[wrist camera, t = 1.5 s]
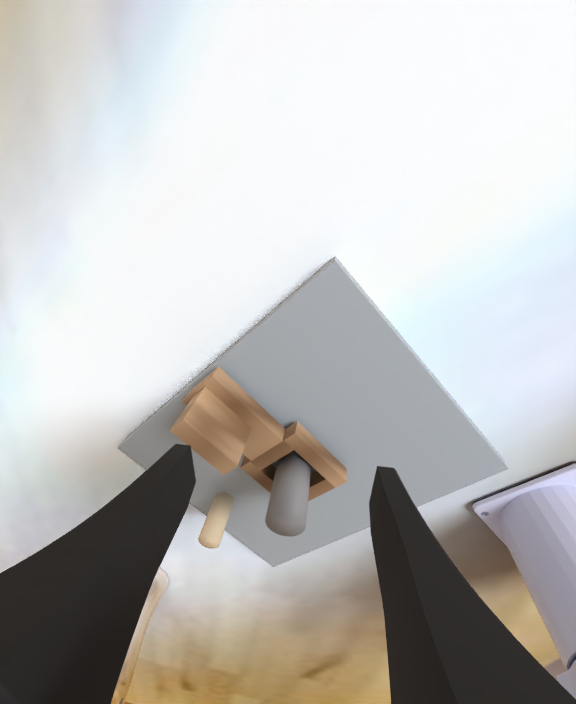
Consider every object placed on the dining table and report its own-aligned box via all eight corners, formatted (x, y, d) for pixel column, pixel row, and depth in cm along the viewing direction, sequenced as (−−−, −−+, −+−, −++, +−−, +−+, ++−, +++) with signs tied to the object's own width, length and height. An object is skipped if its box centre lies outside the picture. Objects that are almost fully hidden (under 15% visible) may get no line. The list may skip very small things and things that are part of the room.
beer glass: (175, 597, 37) (87, 820, 24) (119, 584, 38) (2, 797, 25) (171, 562, 34) (67, 799, 21) (110, 550, 35) (-30, 773, 21)
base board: (500, 455, 22) (556, 546, 17) (275, 553, 31) (261, 635, 25) (335, 256, 18) (334, 287, 12) (126, 437, 26) (69, 505, 21)
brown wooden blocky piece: (346, 468, 22) (348, 526, 19) (292, 496, 25) (284, 554, 21) (230, 356, 20) (203, 397, 16) (180, 399, 22) (145, 444, 18)
